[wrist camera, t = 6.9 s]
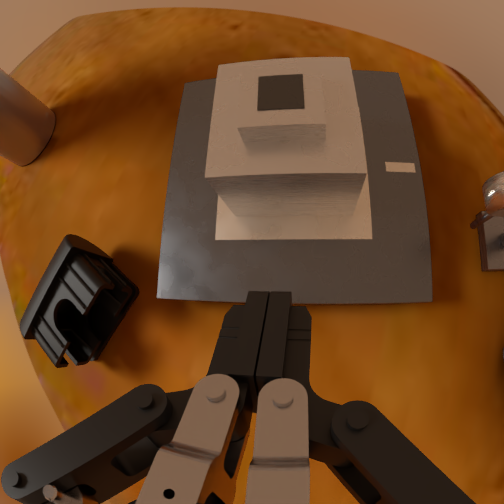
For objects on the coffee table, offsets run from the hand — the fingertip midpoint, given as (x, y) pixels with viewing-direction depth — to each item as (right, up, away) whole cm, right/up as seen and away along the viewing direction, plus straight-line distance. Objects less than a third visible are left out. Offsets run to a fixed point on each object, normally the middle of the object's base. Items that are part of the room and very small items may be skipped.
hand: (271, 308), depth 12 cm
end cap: (-16, -3, +17) cm, 24 cm away
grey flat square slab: (+3, +8, +13) cm, 16 cm away
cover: (+2, +9, +12) cm, 15 cm away
